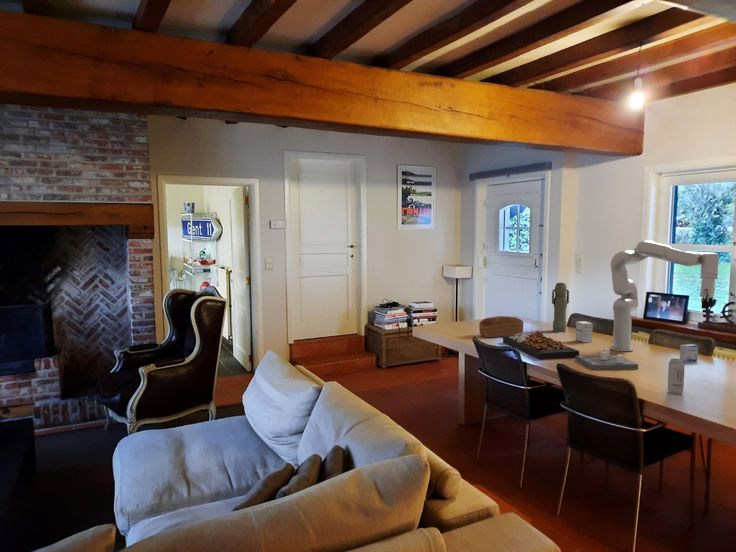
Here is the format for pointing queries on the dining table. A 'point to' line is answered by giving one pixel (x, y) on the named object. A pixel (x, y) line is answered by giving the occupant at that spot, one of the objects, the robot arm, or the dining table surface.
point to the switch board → (605, 362)
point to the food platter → (540, 346)
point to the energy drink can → (676, 376)
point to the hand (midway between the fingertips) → (707, 307)
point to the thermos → (560, 307)
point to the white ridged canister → (584, 331)
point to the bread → (500, 326)
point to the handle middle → (604, 355)
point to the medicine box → (688, 352)
